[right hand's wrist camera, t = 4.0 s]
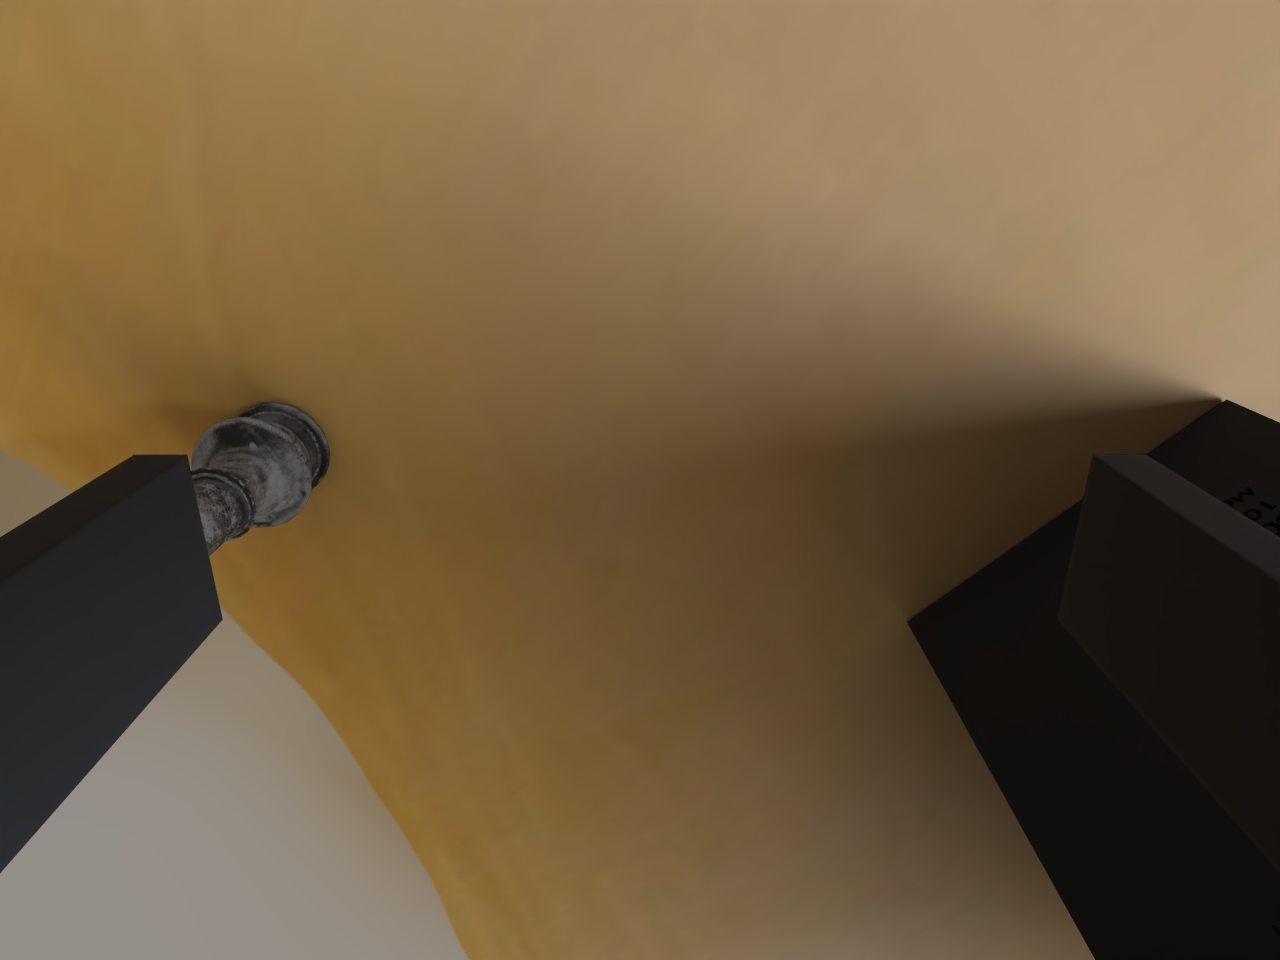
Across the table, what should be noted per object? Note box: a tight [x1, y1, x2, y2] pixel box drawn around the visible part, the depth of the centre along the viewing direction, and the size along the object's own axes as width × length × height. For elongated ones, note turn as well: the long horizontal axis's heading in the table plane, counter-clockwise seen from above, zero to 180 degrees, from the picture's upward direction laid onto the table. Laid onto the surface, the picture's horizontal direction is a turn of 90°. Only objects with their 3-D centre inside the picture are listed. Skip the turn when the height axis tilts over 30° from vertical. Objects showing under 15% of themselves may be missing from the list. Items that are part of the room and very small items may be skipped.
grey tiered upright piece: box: [191, 402, 330, 555], centre depth 39 cm, size 6×6×12 cm
